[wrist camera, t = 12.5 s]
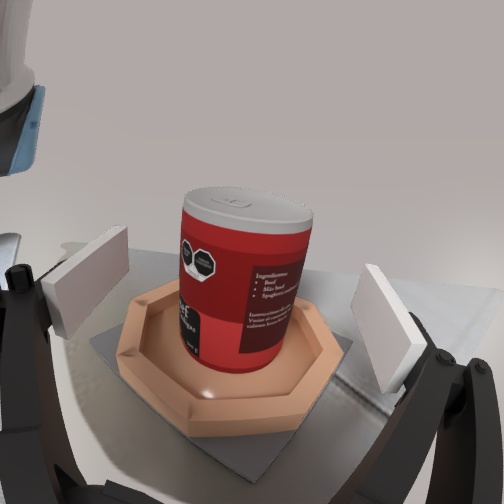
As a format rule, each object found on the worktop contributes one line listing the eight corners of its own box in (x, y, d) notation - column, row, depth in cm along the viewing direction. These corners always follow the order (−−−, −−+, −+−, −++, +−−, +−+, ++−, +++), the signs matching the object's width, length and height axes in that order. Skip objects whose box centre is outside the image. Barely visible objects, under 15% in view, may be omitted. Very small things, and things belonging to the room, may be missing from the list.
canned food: (191, 305, 25) (199, 181, 21) (279, 319, 25) (306, 197, 21) (166, 365, 18) (163, 207, 13) (281, 384, 18) (325, 231, 13)
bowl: (88, 339, 19) (83, 320, 18) (217, 277, 31) (218, 260, 31) (255, 481, 11) (261, 470, 11) (352, 341, 24) (360, 324, 23)
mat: (89, 343, 19) (88, 339, 19) (216, 280, 32) (217, 277, 31) (254, 483, 12) (255, 481, 11) (351, 344, 24) (352, 341, 24)
